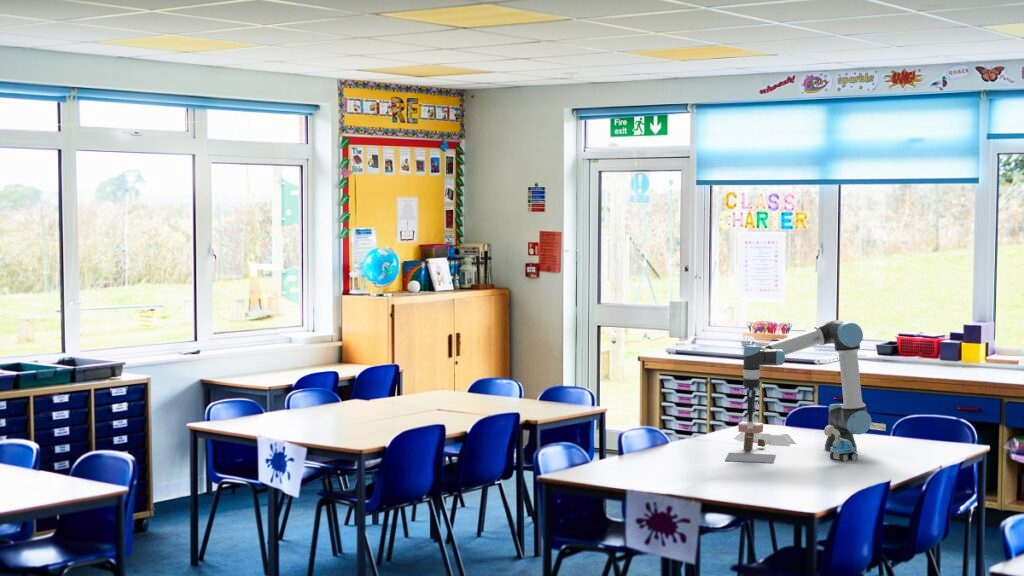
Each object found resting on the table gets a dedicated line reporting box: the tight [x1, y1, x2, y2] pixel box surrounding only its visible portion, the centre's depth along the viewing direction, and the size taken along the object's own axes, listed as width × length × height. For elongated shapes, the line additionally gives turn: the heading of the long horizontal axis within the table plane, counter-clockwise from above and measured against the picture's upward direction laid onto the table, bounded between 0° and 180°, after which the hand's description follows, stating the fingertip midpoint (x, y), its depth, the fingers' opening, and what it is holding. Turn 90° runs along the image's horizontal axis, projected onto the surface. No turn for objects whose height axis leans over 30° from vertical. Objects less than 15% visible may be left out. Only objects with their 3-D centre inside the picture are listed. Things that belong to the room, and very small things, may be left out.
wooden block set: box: [743, 432, 766, 451], centre depth 599 cm, size 18×9×10 cm, turn 151°
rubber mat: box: [724, 452, 776, 465], centre depth 575 cm, size 22×22×1 cm
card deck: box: [737, 421, 764, 433], centre depth 575 cm, size 6×10×4 cm, turn 62°
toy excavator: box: [823, 424, 858, 462], centre depth 571 cm, size 9×17×17 cm, turn 117°
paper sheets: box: [733, 428, 797, 447], centre depth 626 cm, size 35×20×6 cm, turn 48°
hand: (750, 427), depth 575 cm, fingers closed on card deck, 7 cm apart
